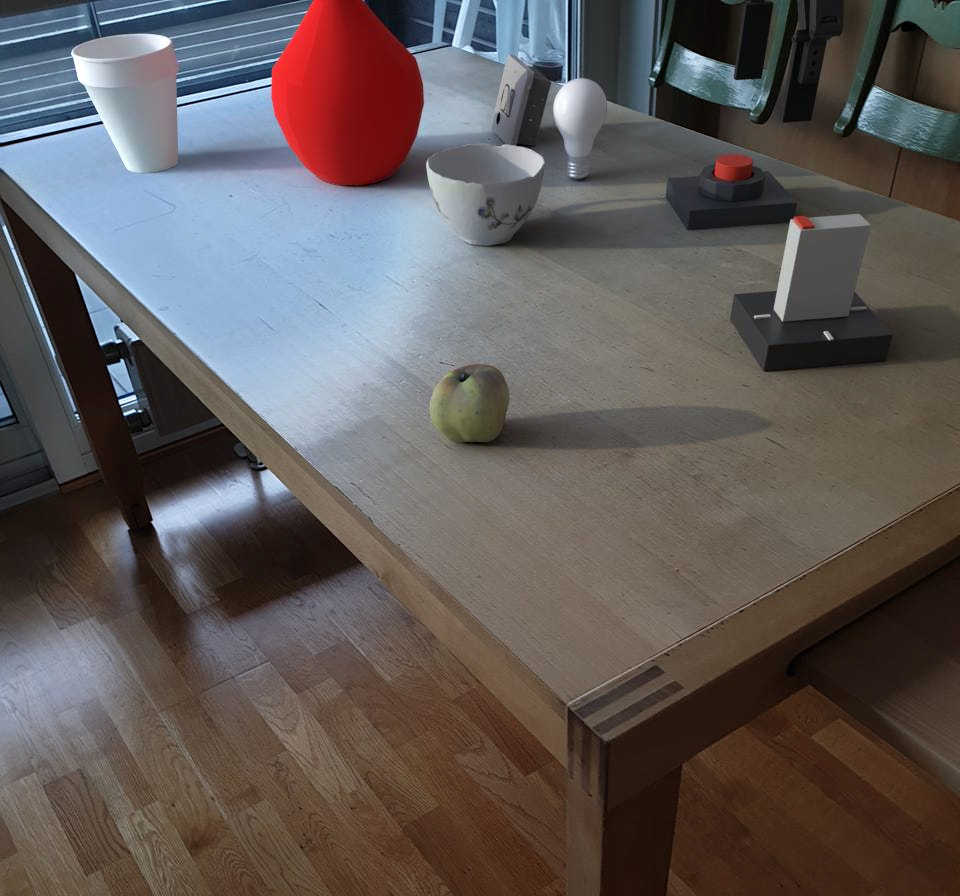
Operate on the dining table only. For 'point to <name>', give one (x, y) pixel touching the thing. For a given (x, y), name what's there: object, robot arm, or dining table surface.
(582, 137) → the lightbulb
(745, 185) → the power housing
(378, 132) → the vase
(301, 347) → the dining table surface
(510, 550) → the dining table surface
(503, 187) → the teacup
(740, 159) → the power button
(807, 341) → the dial panel
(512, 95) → the electrical switch
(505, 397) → the apple
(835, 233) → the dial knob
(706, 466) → the dining table surface
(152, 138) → the cup
